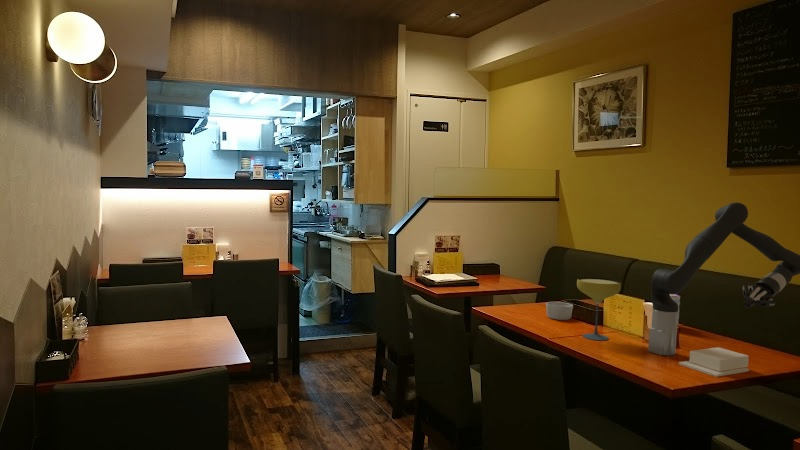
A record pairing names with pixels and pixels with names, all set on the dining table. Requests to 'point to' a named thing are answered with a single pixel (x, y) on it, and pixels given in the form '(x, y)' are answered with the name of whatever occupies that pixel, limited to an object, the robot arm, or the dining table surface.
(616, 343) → the dining table surface
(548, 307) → the ramekin
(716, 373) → the cutting board
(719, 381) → the dining table surface
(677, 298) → the candy box
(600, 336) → the cocktail glass
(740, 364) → the tile
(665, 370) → the dining table surface
